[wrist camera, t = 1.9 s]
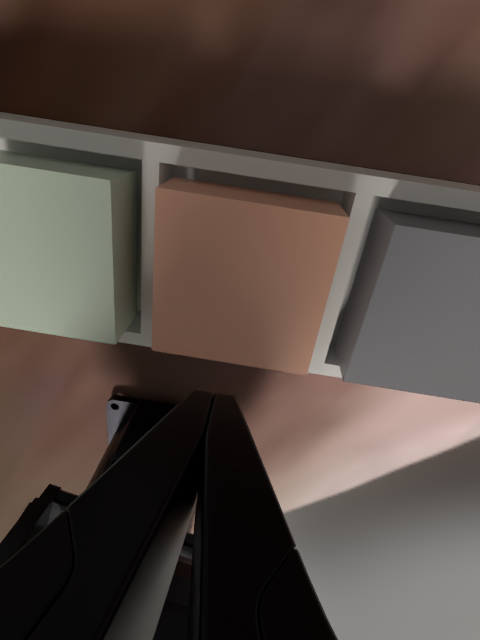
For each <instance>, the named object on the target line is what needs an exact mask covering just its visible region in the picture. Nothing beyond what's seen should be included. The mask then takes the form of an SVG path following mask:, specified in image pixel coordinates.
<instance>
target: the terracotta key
mask: <svg viewBox="0 0 480 640" xmlns="http://www.w3.org/2000/svg"><path fill="white" fill-rule="evenodd" d="M349 219H350V217H349V216H348V215H347V213H346V212H345V211H344V209H343V208H342V207H341V206H340V204H339V203H338V202H333V201H327V200H320V199H314V198H308V197H301V196H295V195H288V194H282V193H275V192H269V191H262V190H256V189H250V188H243V187H237V186H230V185H224V184H217V183H211V182H204V181H198V180H192V179H185V178H179V177H174V178H172V179H170V180H168V181H166V182H165V183H163V184H161V185H159V186H157V187H155V224H154V266H153V308H152V351H158V352H164V353H170V354H176V355H183V356H189V357H195V358H201V359H207V360H214V361H220V362H226V363H232V364H239V365H245V366H251V367H257V368H263V369H270V370H276V371H282V372H288V373H294V374H301V375H307V373H308V369H309V365H310V362H311V358H312V354H313V351H314V347H315V343H316V340H317V336H318V333H319V329H320V325H321V322H322V318H323V314H324V311H325V307H326V303H327V300H328V296H329V292H330V289H331V285H332V281H333V278H334V274H335V270H336V267H337V263H338V259H339V256H340V252H341V248H342V245H343V241H344V237H345V234H346V230H347V226H348V223H349Z"/></svg>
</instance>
